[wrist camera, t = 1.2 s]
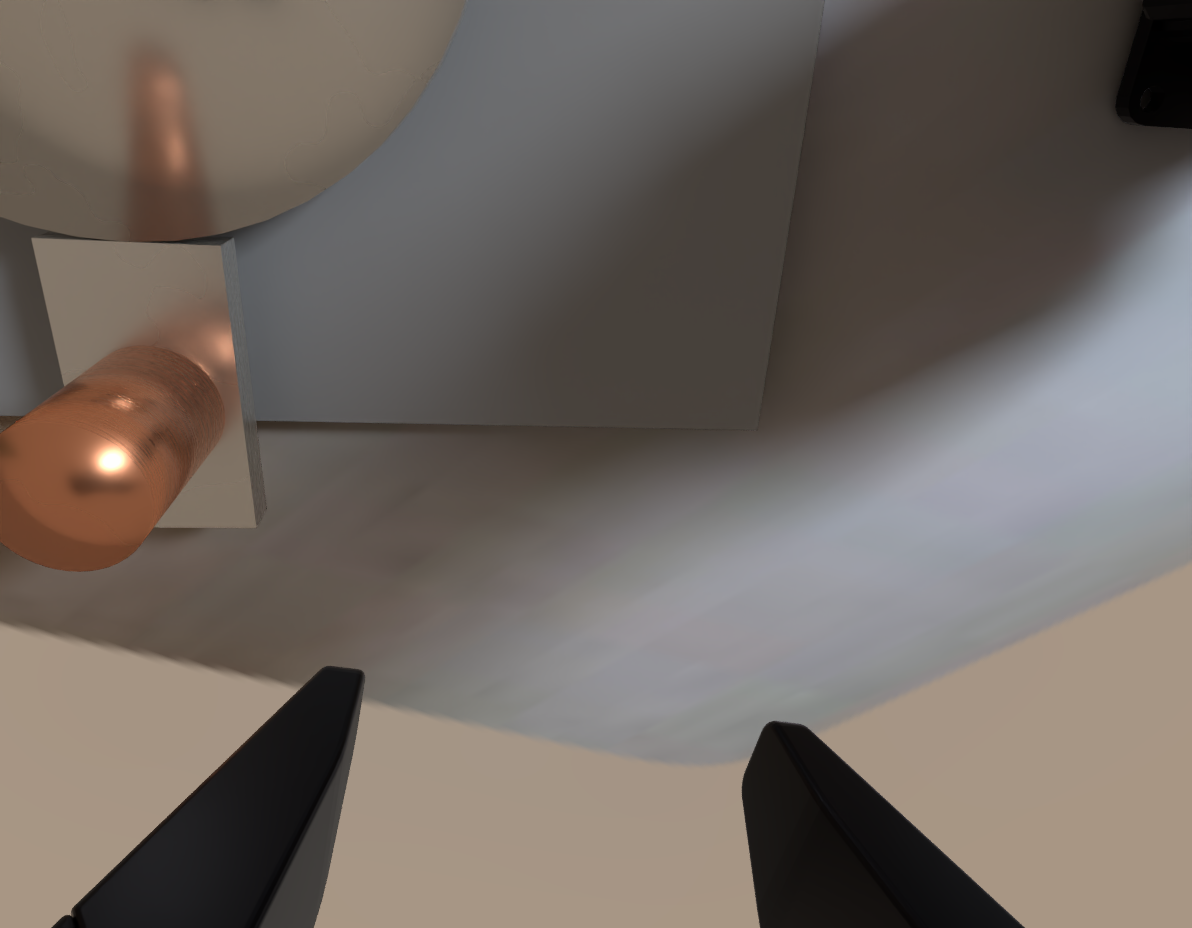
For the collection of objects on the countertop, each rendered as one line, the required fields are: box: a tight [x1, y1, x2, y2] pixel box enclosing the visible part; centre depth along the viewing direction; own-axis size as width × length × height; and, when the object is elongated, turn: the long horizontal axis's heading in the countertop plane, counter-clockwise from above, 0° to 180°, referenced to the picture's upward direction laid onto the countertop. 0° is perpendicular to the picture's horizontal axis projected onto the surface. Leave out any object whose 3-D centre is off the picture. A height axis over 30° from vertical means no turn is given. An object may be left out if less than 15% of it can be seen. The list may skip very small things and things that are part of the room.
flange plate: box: [0, 0, 468, 572], centre depth 11 cm, size 18×12×4 cm
